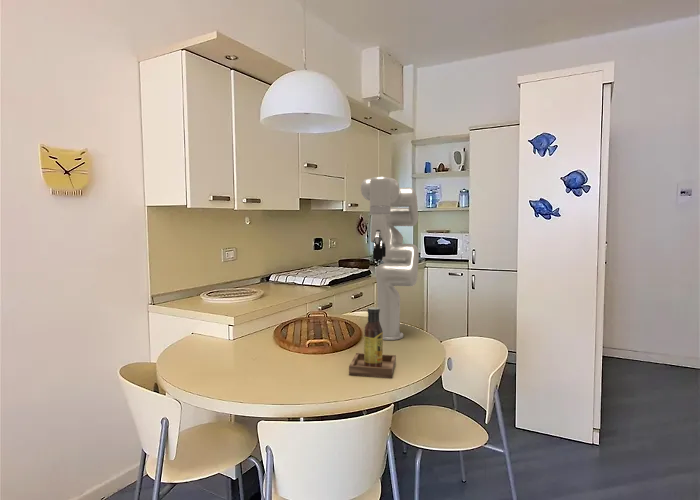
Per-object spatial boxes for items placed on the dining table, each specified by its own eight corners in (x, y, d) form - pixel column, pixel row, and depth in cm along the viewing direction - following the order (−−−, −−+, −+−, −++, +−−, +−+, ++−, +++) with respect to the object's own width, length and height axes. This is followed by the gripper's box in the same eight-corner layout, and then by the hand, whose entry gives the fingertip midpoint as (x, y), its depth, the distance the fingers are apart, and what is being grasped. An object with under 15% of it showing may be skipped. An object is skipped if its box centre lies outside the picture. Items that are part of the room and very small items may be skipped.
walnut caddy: (356, 361, 158) (356, 352, 158) (395, 363, 155) (395, 355, 155) (349, 375, 144) (349, 366, 144) (391, 378, 142) (392, 369, 141)
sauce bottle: (381, 370, 146) (381, 310, 145) (362, 368, 148) (362, 310, 146) (383, 363, 153) (384, 306, 151) (365, 362, 154) (366, 305, 152)
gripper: (373, 211, 170) (372, 255, 172) (366, 211, 153) (366, 260, 155) (392, 211, 169) (392, 256, 170) (387, 211, 152) (387, 260, 153)
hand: (379, 258), depth 163 cm, fingers open, 9 cm apart
